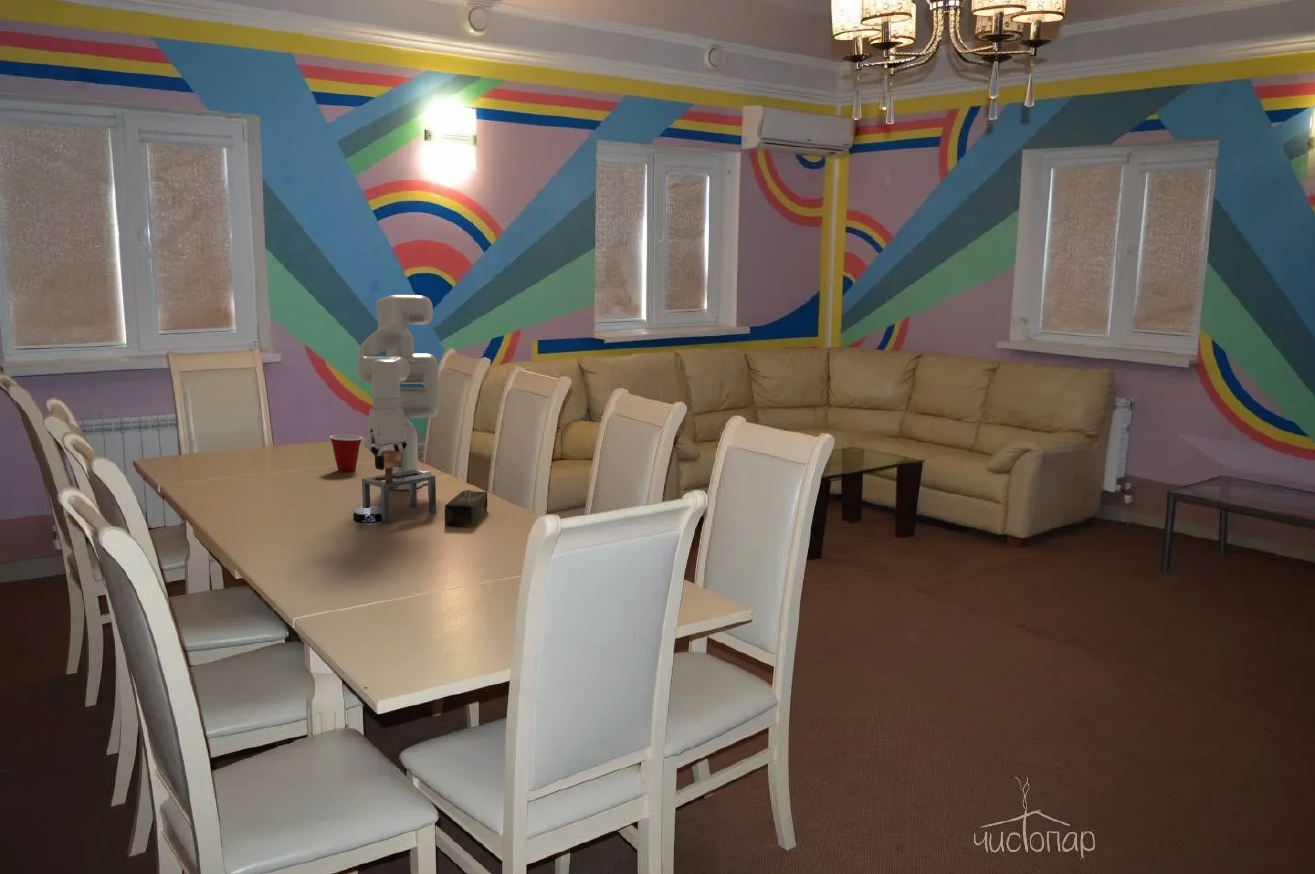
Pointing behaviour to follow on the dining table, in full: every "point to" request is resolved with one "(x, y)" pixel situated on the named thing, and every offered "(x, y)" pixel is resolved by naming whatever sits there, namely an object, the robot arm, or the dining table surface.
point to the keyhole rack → (407, 478)
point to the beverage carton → (465, 508)
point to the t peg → (391, 464)
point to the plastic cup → (346, 451)
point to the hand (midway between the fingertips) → (388, 467)
